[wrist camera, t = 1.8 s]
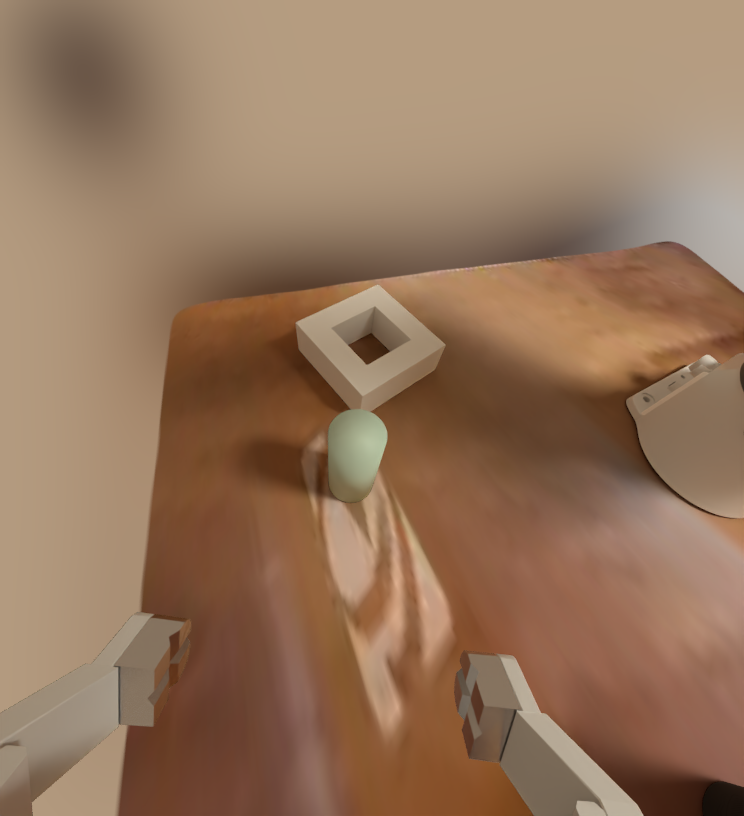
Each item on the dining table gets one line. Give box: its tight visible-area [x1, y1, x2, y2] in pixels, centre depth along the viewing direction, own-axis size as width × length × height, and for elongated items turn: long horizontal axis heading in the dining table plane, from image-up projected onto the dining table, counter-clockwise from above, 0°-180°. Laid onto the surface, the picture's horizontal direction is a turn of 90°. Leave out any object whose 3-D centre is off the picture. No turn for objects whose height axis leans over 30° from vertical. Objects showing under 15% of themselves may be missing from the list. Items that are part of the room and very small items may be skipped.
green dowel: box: [328, 409, 387, 503], centre depth 29 cm, size 4×4×10 cm
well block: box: [295, 285, 446, 412], centre depth 40 cm, size 12×12×4 cm
